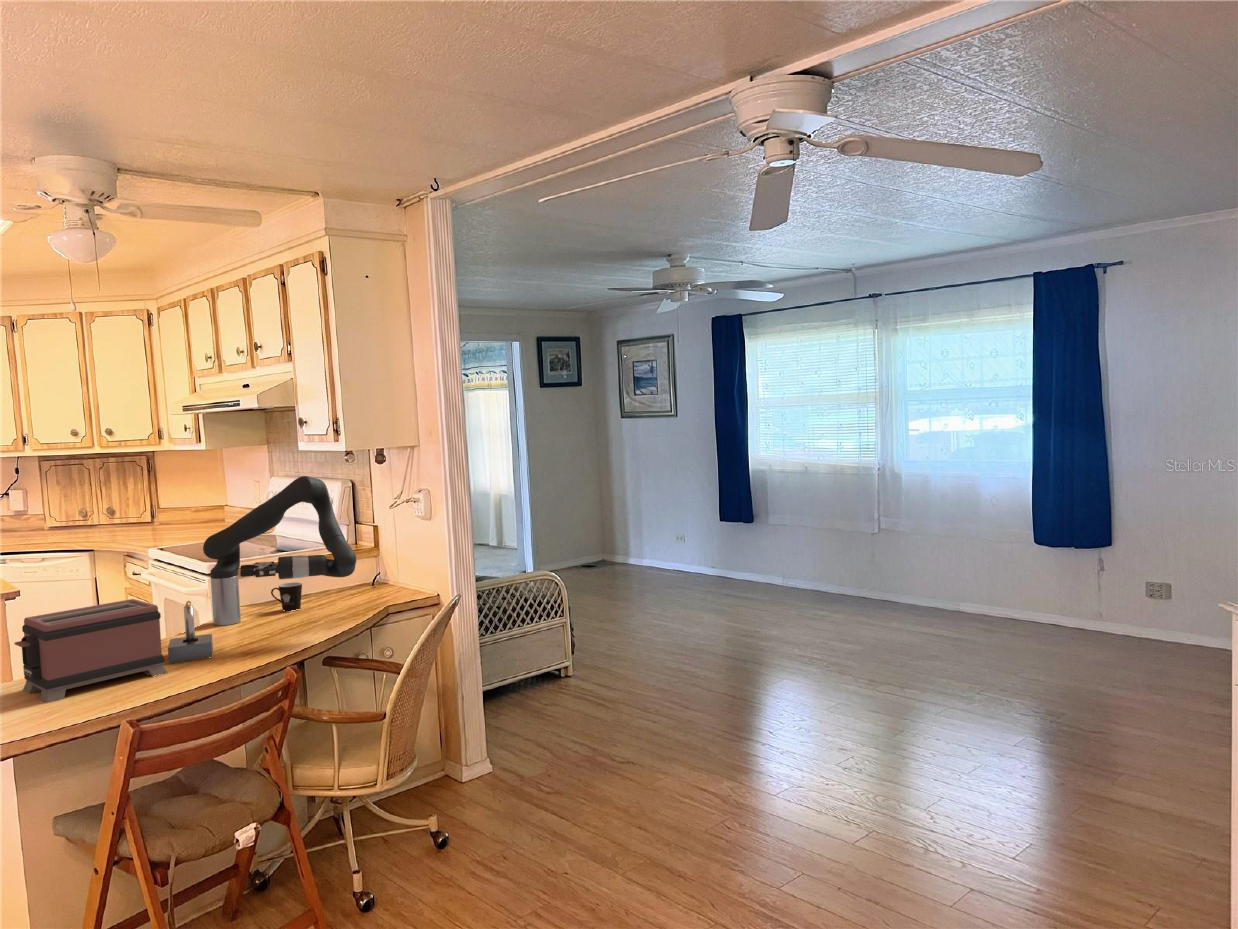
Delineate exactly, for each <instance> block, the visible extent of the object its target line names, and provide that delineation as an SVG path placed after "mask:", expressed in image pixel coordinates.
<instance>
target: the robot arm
mask: <svg viewBox="0 0 1238 929" xmlns="http://www.w3.org/2000/svg"><path fill="white" fill-rule="evenodd" d="M328 490H329V489H328V488H327V485H326V483H325V482H324V481H323V480H321V479H319V478H316V477H312V476H308V475H303V476H302V475H301V476H299V477H297V478H295V479H294V480H293V481H291V482H290V483H289V484H288V485H287V486H285V487H284V488H283V489H282V490H281V491H279V492H278V493H277V494H275V495H273V496H272V497H270V498H269V499H267V500H266V501H265V502H263V503H261V504H259V505H258V506H257V507H255V508H253V509H252V510H250V511H249V512H247V513H246V514H245V515H243V516H241V517H240V518H239V519H238V520H235V522H233V523H232V524H230V525H229V526H228V527H225V528H224V529H221V530H219V531H218V532H216V533H214V534H212V535H209V536H208V537H207V538H206V539H205V541H204V542H203V547H202V551H203V554H204V555H205V556H206V557H207V558H209V559H211V560H216V564H215V565H214V566H213V568H211V569H210V574H209V575H210V590H211V591H210V592H211V607H212V622H213V623H212V624H213V625H214V626H229V625H235V624H237V623H238V624H239V623H240V622H241V603H240V602H241V601H240V600H241V599H240V584H239V581H240V580H239V576H240V577H244V578H245V577H255V578H265V577H275V576H276V575H278V580H291V579H301V578H303V579H304V578H307V577H317V576H319V577H320V576H324V577H330V578H331V577H332V578H346V577H349V576H351V575H352V574H354V572H355V569H356V563H357V556H356V552H355V551H354V549H353V547H352V546H351V545H350V544H349V543H348V541H347V540H346V537H345V535H344V533H343V531H342V529H341V527H340V525H339V523H338V520H337V517H336V515H335V511H334V509H333V508H334V507H333V505H332V502H331V497H330V493H329V491H328ZM299 503H305V504H306V503H307V504H311V505H312V507H313V508H314V509H315V511H316V514H317V515H318V533H319V536H320V538H321V540H322V543H323V545H324V547H325V549H326V550H327V551H328V552H329V553H330V554H331V555H332V557H333V558H326V556H325V555H324V554H314V555H313V554H312V555H310V554H309V555H304V554H303V555H301V554H300V555H288V556H287V555H285V556H284V555H282V556H278V557H277V563H275V561H273V560H272V561H264V562H263V561H260V562H255V563H253V564H242V565H241V546H240V544H241V543H244V542H246V541H250V540H252V539H254V538H256V537H258V536H261V535H264V534H265V533H266V532H267V533H268V532H269V531H270V530H272V529H273V528H275V527H276V526H277V525H279V524H280V522H281V521H282V520H283V519H284V516H285V514H286V512H287V510H289V509H290V508H293V507H294V506H295V505H297V504H299ZM239 570H240V571H239ZM239 572H240V573H239ZM239 574H240V575H239Z"/></svg>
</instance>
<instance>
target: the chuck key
mask: <svg viewBox="0 0 1238 929" xmlns="http://www.w3.org/2000/svg"><path fill="white" fill-rule="evenodd" d="M191 604H192V602H191V600H187V601H186V602H185V606H183V615H184V629H185V631H184V632H185V637H186V643H187V642H195V636H196V632H195V630H196V629H195V617H194V616H195V615H194V605H191Z"/></svg>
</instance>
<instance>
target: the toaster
mask: <svg viewBox="0 0 1238 929" xmlns="http://www.w3.org/2000/svg"><path fill="white" fill-rule="evenodd" d="M161 615H162V614H161V613H160V611H159V607H158V605H157V604H153V603H149V602H146V601H142V600H138V599H135V598H130V599H126V600H125V599H124V600H119V601H114V602H113V601H112V602H108V603H101V604H97V605H92V606H91V605H90V606H86V607H85V606H84V607H80V608H79V607H78V608H74V609H68V610H62V611H56V612H50V613H44V614H39V615H35V616H33V615H31V616H27V617H25V618H24V619H23V625H22V627H21V630H22V632H23V637H21V639H20V641H16V642H14V645H15V646H18V647H20V648H21V655H22V656H21V657H22V664H23V665H22V666H23V668H22V669H23V675H24V677H23V678H24V680H25V684H24V686H23V688H22V691H23V692H24V693H27V694H33V693H37V691H38V692H40V695H39V696H40V697H39V700H40V701H42V702H43V703H45V704H48V703H53V702H56V701H61V699H62V700H65V697H66V696H65V695H66V690H69V689H73V688H77V687H82V686H86V685H90V684H94V683H97V682H98V683H99V682H103V681H107V680H110V679H111V680H112V679H116V678H120V677H123V676H128V675H133V674H136V673H140V672H144V674H145V673H146V674H145V675H147V674H149V675H151V676H150V677H152V676H155V675H159V674H163V675H166V673H167V674H168V671H167V669H166V667H165V666H164V664H165V662H166V660H165V656H164V655H163V654H162V640H161V639H162V638H161V637H162V636H161V620H160V619H161ZM149 675H148V676H149ZM159 676H160V675H159ZM155 677H156V676H155Z"/></svg>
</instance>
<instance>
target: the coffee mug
mask: <svg viewBox="0 0 1238 929" xmlns="http://www.w3.org/2000/svg"><path fill="white" fill-rule="evenodd" d="M275 590H277V591H278V592H279V596H280V599H279V598H278V597H276V596H275V594H274V591H275ZM302 591H303V582H298V581H297V582H286V583H281V584H278V587H274V588H272V589H271V591H270V595H271V596H272V597H273V599H275V600H276V601H278V602H279V603H281V609H282V611H283V610H285V611H291V610H296V609H300V610H301V604H302V593H303V592H302Z"/></svg>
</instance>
